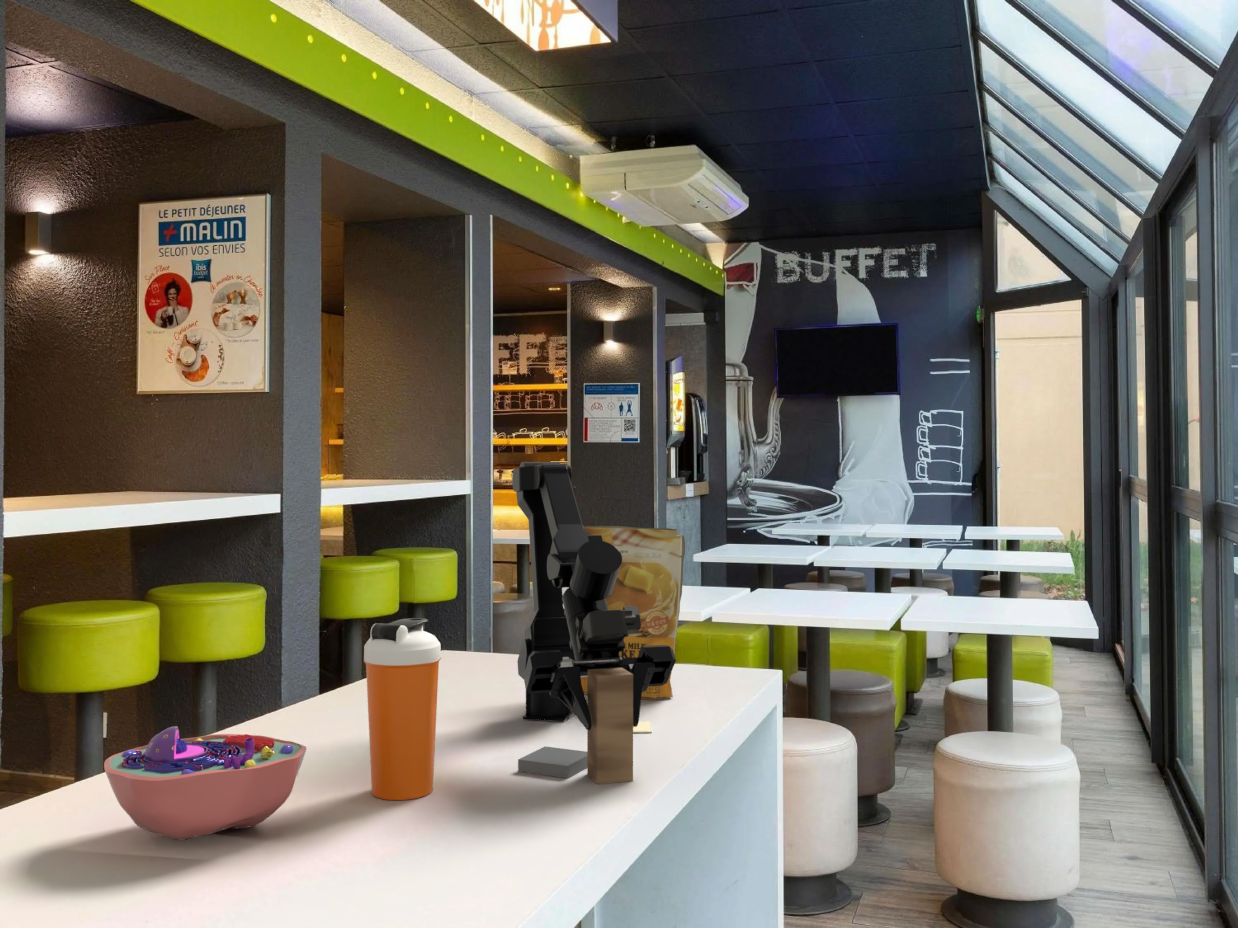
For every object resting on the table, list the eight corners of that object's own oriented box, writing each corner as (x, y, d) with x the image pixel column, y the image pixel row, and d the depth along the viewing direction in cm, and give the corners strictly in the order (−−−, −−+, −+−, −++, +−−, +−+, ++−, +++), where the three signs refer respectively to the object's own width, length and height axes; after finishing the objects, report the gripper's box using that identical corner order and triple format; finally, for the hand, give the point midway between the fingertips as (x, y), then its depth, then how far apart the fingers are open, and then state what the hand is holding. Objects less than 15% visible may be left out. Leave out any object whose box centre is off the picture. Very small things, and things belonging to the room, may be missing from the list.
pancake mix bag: (577, 687, 190) (577, 524, 190) (686, 693, 185) (686, 526, 185) (565, 695, 184) (565, 526, 184) (677, 702, 179) (677, 528, 178)
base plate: (518, 771, 138) (518, 759, 138) (544, 757, 145) (544, 746, 145) (567, 777, 136) (567, 765, 136) (592, 763, 142) (592, 752, 142)
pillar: (587, 773, 137) (587, 669, 137) (621, 770, 139) (622, 667, 139) (597, 783, 133) (597, 676, 133) (633, 780, 134) (633, 674, 134)
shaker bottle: (454, 784, 133) (454, 618, 133) (417, 806, 124) (417, 628, 124) (389, 777, 136) (389, 614, 136) (348, 798, 127) (348, 624, 127)
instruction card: (588, 732, 158) (588, 730, 158) (589, 722, 164) (589, 720, 164) (651, 732, 158) (651, 730, 158) (650, 722, 164) (650, 720, 164)
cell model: (307, 850, 111) (307, 737, 111) (88, 870, 105) (88, 751, 105) (305, 800, 127) (305, 701, 127) (115, 815, 121) (115, 712, 121)
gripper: (528, 586, 137) (549, 693, 126) (671, 582, 142) (701, 684, 132) (516, 640, 145) (534, 745, 134) (651, 633, 150) (679, 734, 139)
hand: (613, 726), depth 135 cm, fingers open, 6 cm apart
